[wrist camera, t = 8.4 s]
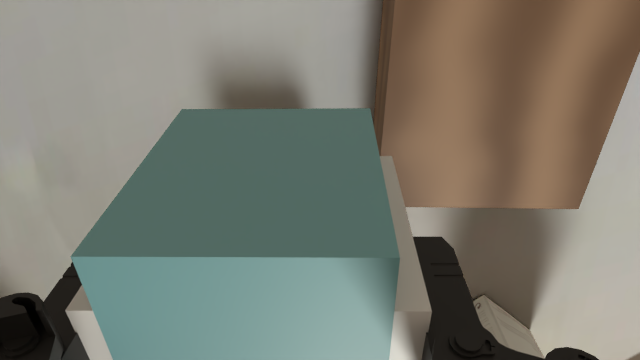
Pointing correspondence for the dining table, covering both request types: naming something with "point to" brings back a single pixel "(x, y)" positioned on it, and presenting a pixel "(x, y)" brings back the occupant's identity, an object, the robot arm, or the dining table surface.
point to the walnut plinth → (500, 97)
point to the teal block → (248, 242)
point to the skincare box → (505, 327)
